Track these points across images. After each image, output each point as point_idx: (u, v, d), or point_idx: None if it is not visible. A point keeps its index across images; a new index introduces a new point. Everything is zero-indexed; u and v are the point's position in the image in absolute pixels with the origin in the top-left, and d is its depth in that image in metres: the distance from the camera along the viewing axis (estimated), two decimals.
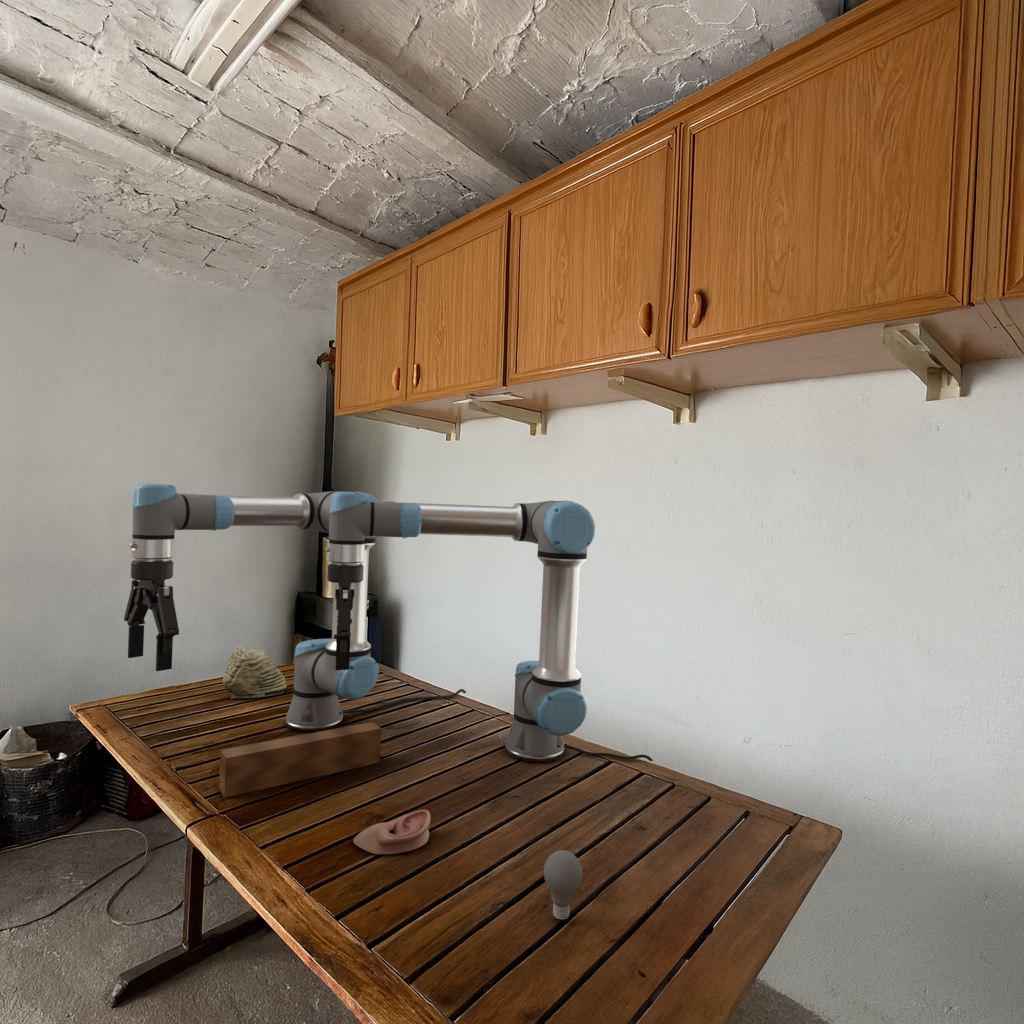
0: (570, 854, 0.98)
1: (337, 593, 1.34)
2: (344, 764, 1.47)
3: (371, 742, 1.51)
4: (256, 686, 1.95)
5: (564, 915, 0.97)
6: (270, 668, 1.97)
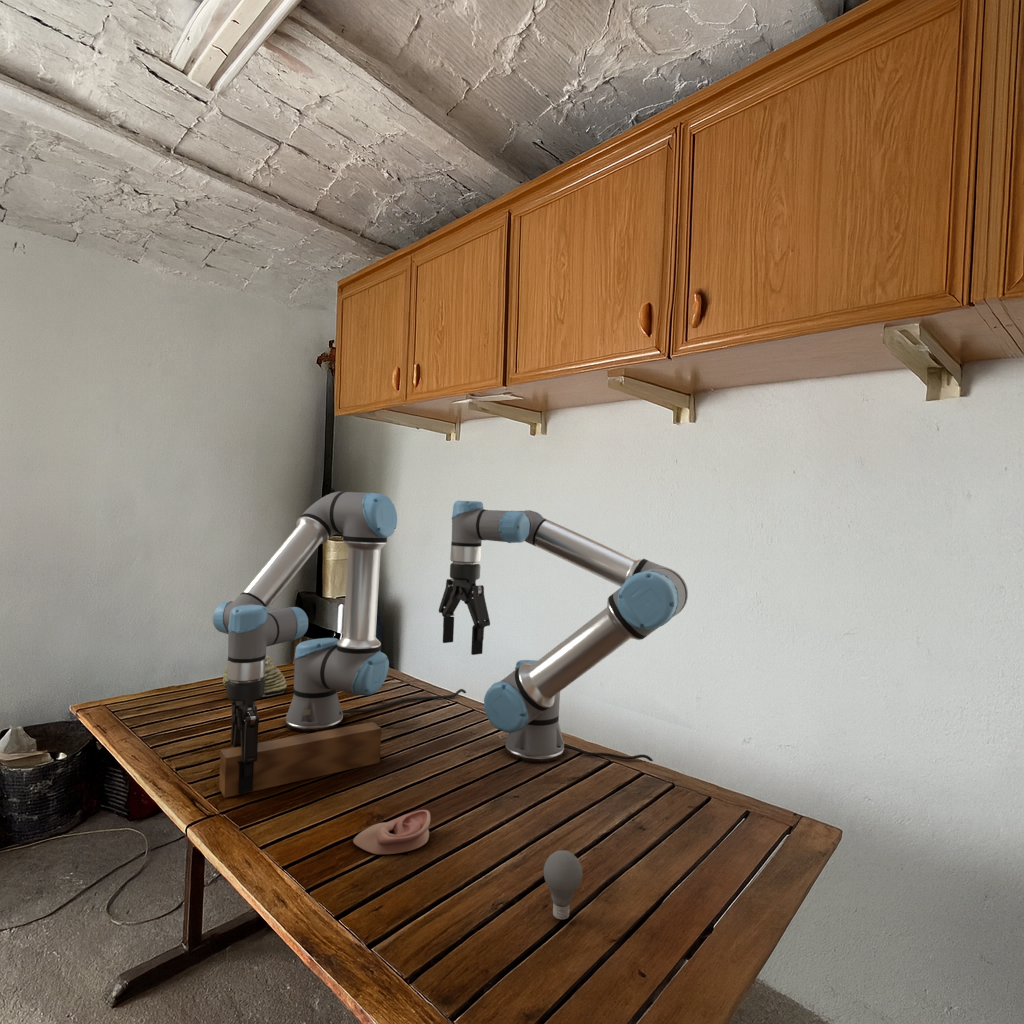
0: (570, 854, 0.98)
1: None
2: (344, 765, 1.47)
3: (371, 742, 1.51)
4: None
5: (564, 915, 0.97)
6: (270, 668, 1.97)
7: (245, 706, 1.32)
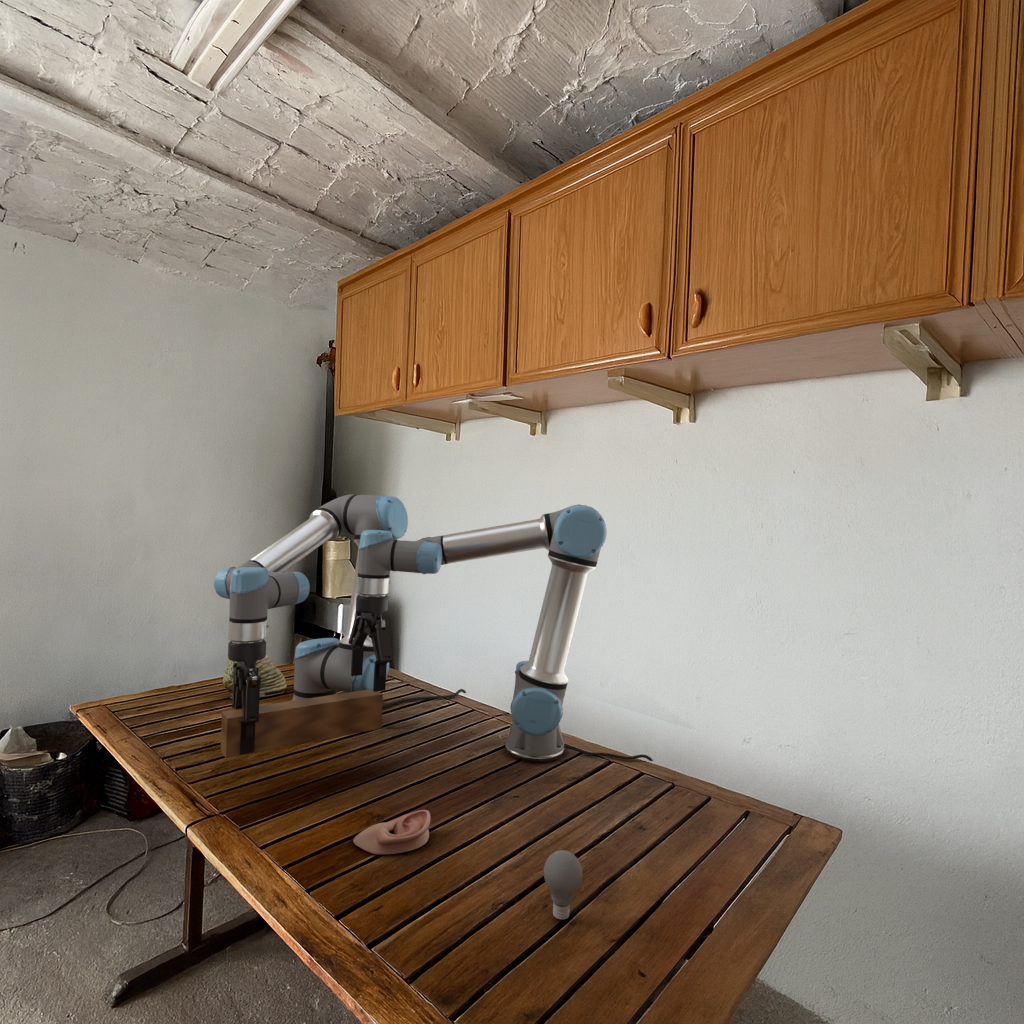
0: (570, 854, 0.98)
1: None
2: (345, 729, 1.47)
3: (372, 707, 1.50)
4: None
5: (564, 915, 0.97)
6: (270, 668, 1.97)
7: (246, 667, 1.32)
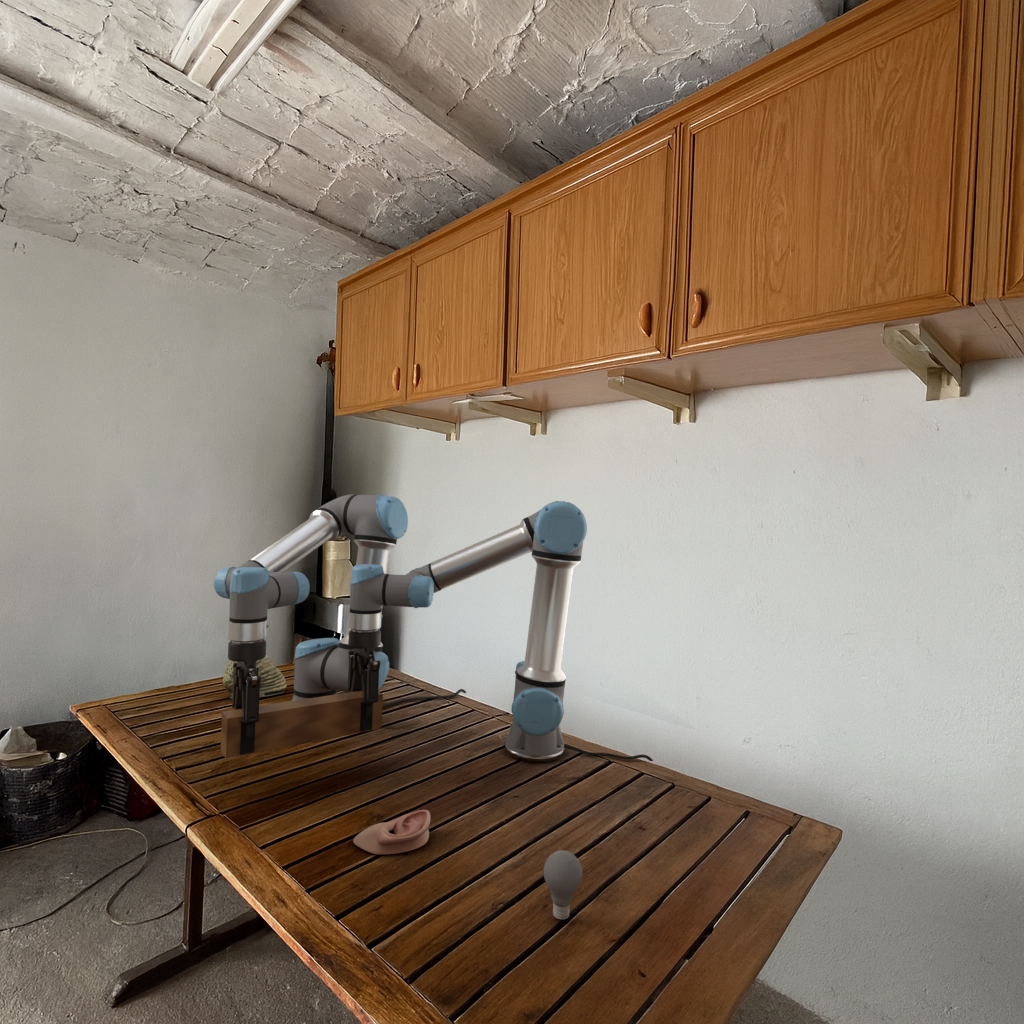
0: (570, 854, 0.98)
1: None
2: (345, 729, 1.47)
3: None
4: None
5: (564, 915, 0.97)
6: (270, 668, 1.97)
7: (246, 667, 1.32)
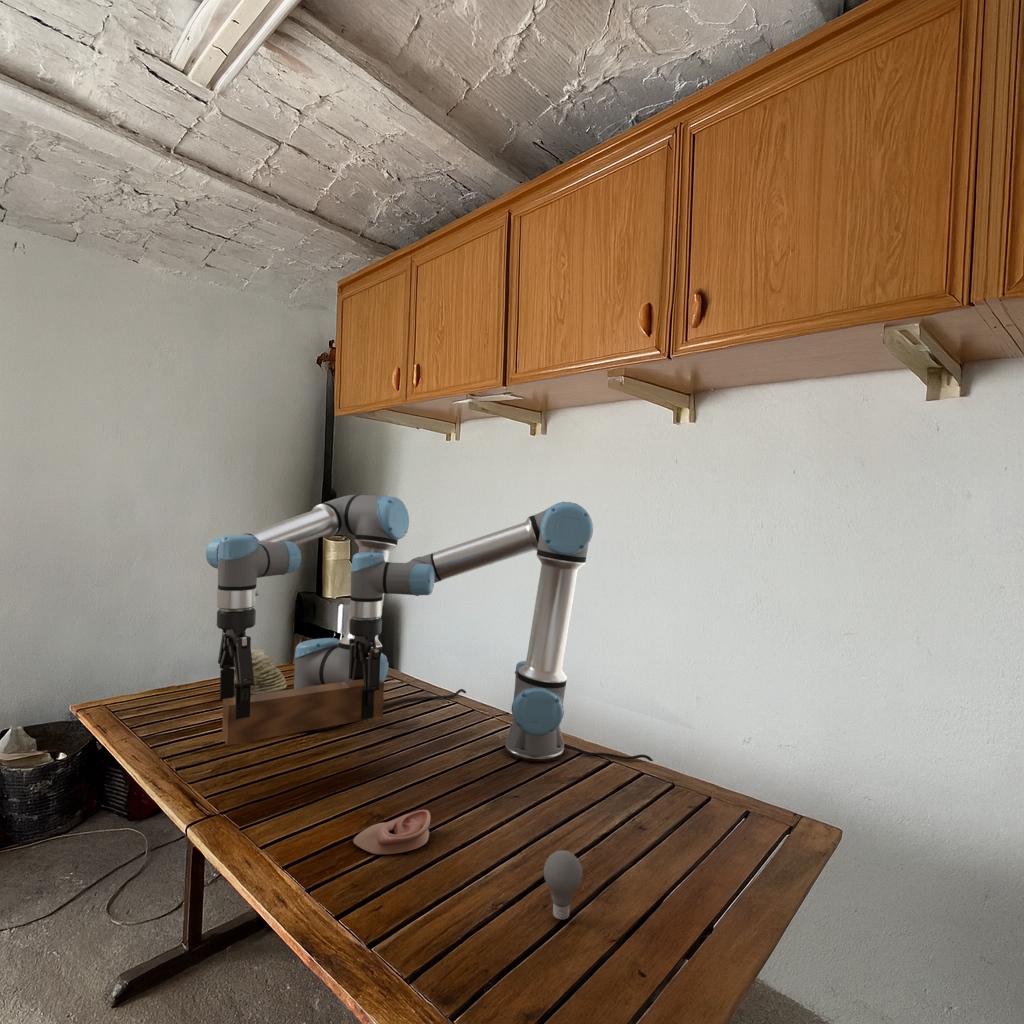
0: (570, 854, 0.98)
1: None
2: (347, 717, 1.46)
3: None
4: (256, 686, 1.95)
5: (564, 915, 0.97)
6: (270, 668, 1.97)
7: (236, 634, 1.30)
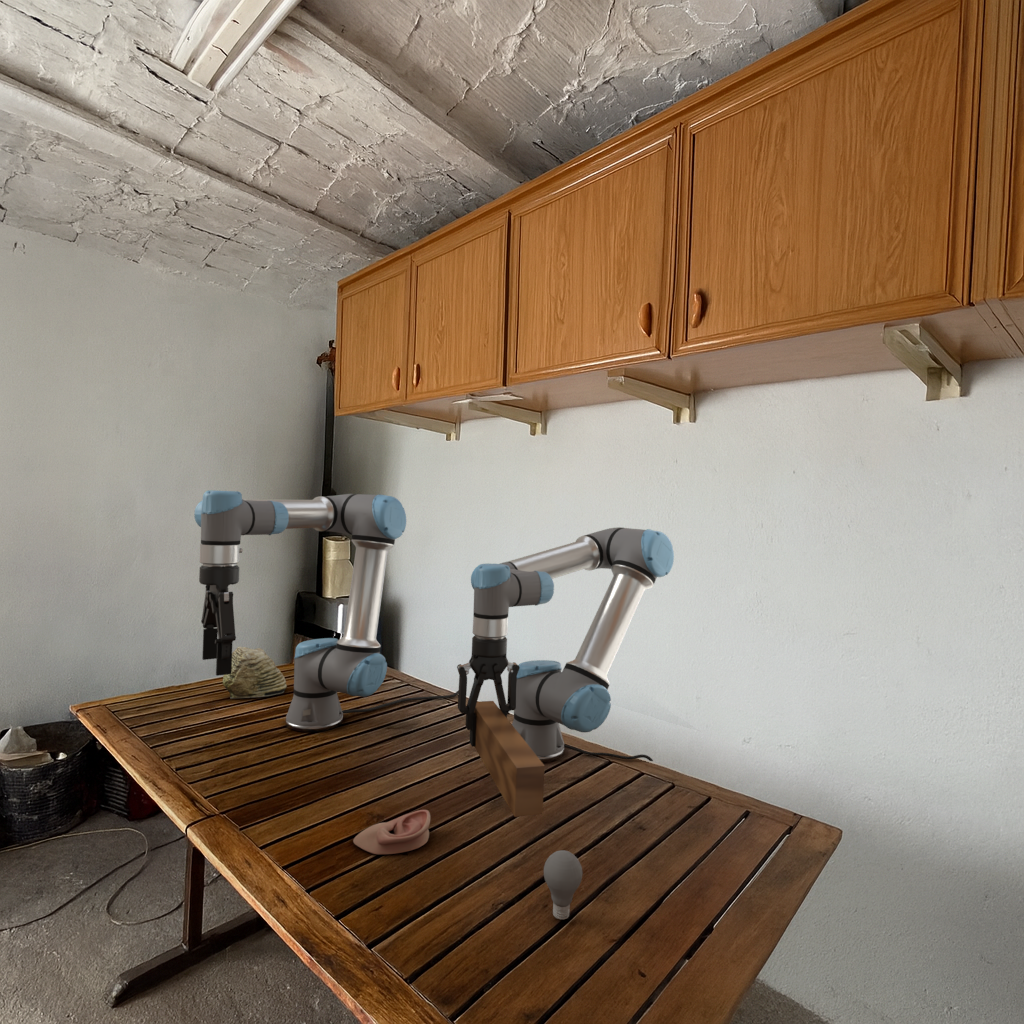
0: (570, 854, 0.98)
1: None
2: None
3: None
4: (256, 686, 1.95)
5: (564, 915, 0.97)
6: (270, 668, 1.97)
7: (218, 590, 1.28)
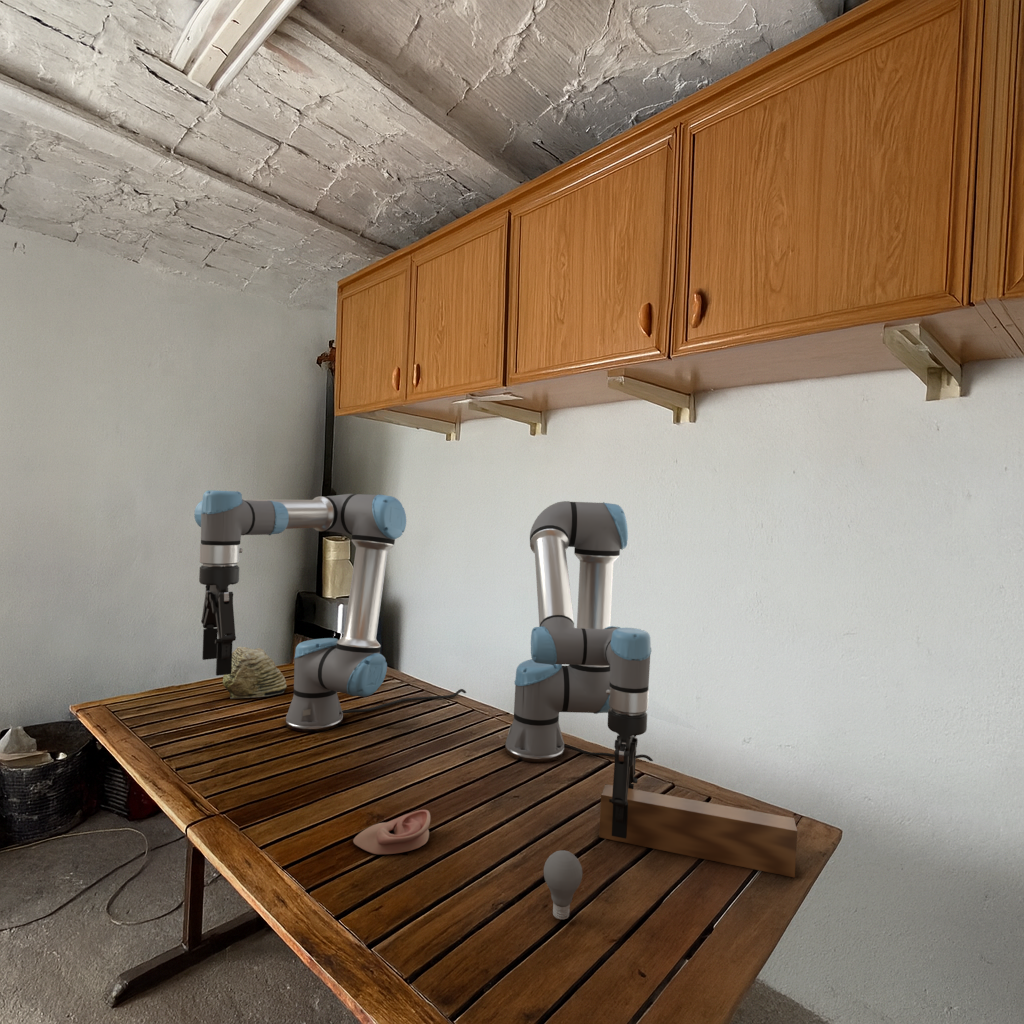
0: (570, 854, 0.98)
1: (616, 744, 1.22)
2: None
3: None
4: (256, 686, 1.95)
5: (564, 915, 0.97)
6: (270, 668, 1.97)
7: (218, 590, 1.28)
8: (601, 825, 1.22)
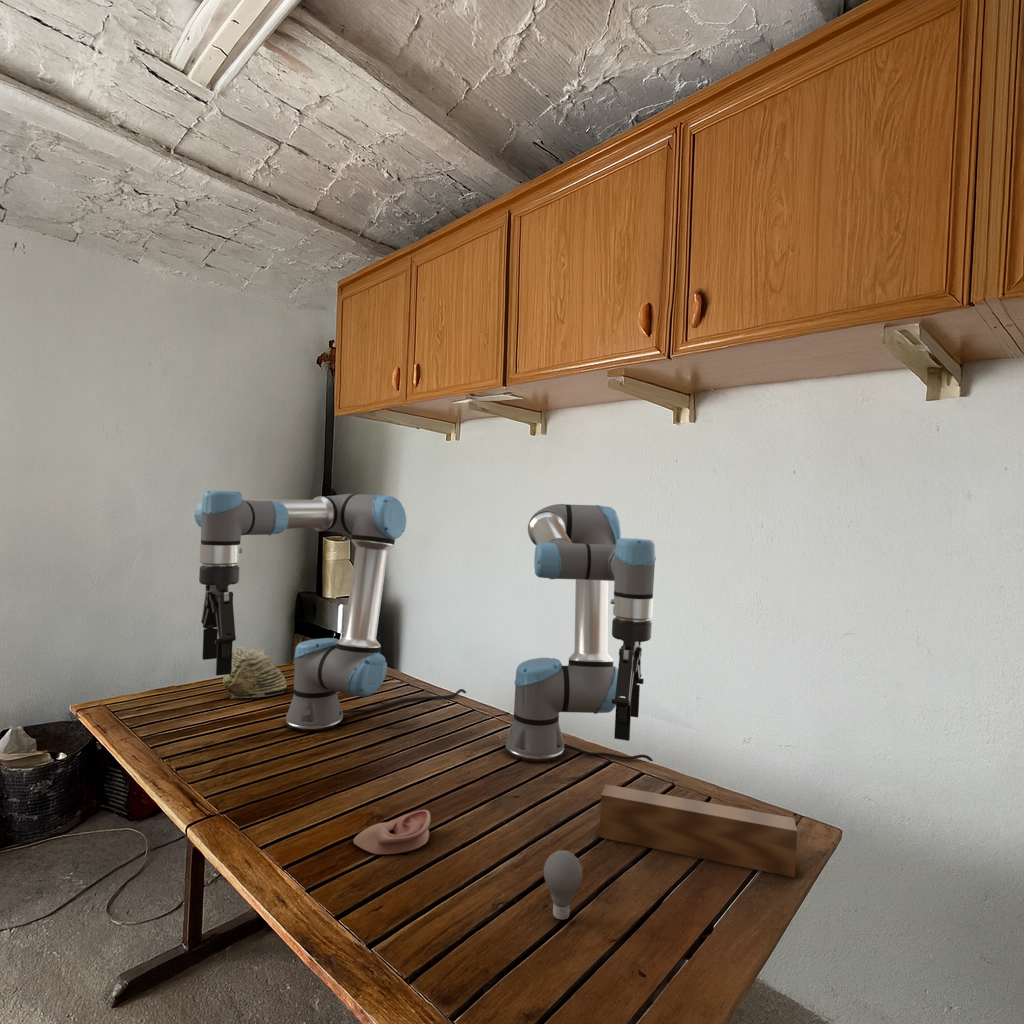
0: (570, 854, 0.98)
1: None
2: None
3: None
4: (256, 686, 1.95)
5: (564, 915, 0.97)
6: (270, 668, 1.97)
7: (218, 590, 1.28)
8: (601, 825, 1.22)
